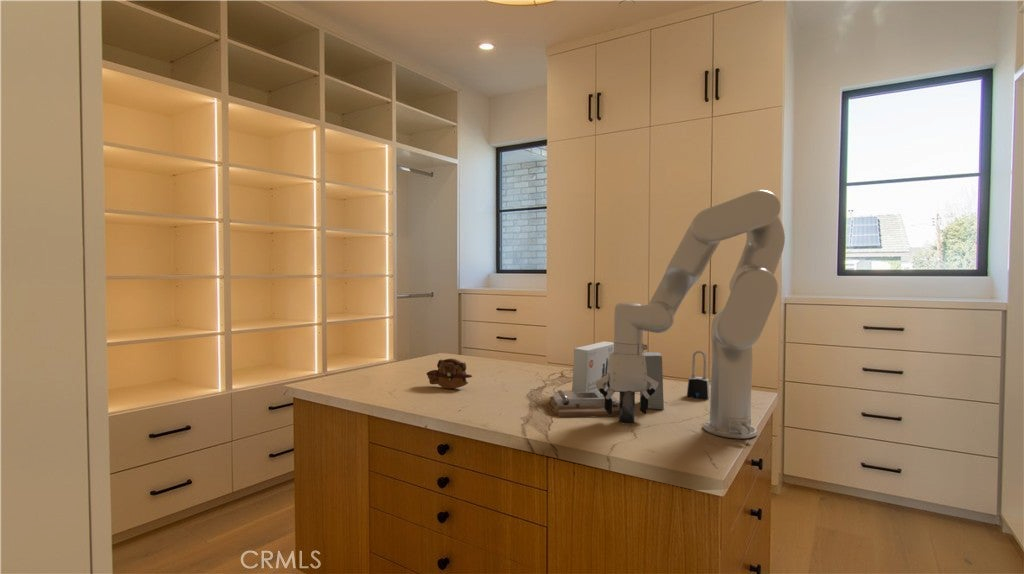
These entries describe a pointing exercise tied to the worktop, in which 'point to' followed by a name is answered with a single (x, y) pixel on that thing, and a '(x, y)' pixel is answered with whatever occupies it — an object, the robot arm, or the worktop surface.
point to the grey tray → (581, 399)
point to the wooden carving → (449, 374)
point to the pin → (626, 407)
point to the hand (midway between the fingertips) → (626, 412)
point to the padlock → (698, 382)
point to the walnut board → (583, 411)
